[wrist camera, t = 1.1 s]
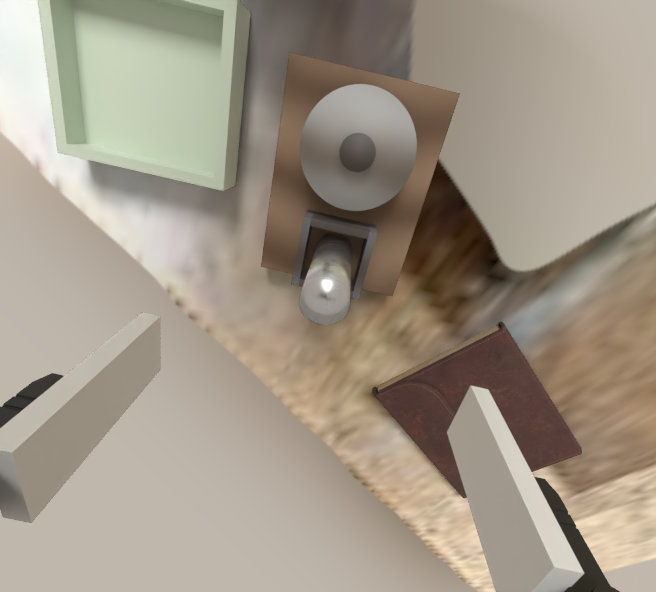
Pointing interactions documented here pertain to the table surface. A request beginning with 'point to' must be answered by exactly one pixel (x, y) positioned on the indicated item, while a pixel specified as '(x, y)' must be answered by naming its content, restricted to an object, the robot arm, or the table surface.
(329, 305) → the pin
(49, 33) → the tray
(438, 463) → the notebook
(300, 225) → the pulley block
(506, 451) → the robot arm
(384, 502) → the table surface
